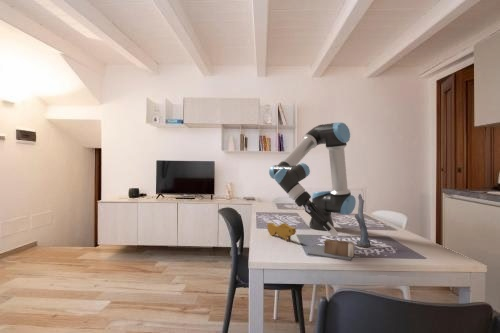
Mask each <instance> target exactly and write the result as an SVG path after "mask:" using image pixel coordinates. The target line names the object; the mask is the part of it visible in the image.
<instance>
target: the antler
mask: <svg viewBox="0 0 500 333" xmlns="http://www.w3.org/2000/svg"><path fill="white" fill-rule="evenodd" d="M357 198H358V208H357V214H354V218H355V220H356V221H357V223H358V227H359V229H360V240H356V244H355V245H356V246H359V247H364V248H365V247H372V244H371V240H370V239H369V232H368V227H367V225H366V221H365V216H364V204H365V200H364V199H363V196H362V194H361V193H358V197H357Z"/></svg>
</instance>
